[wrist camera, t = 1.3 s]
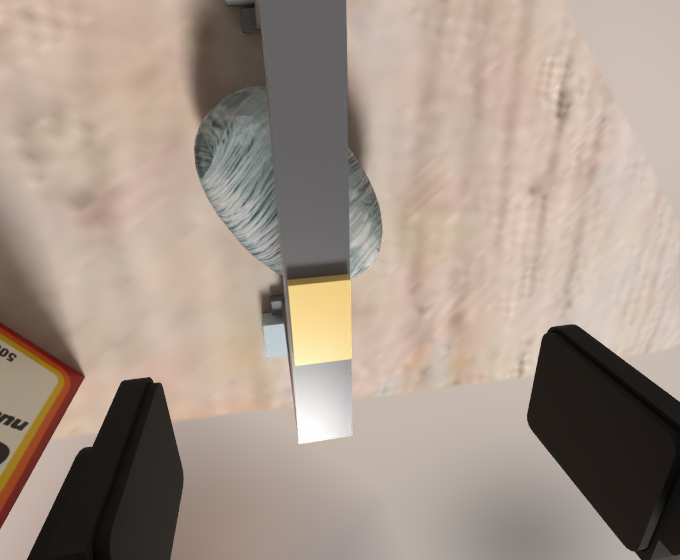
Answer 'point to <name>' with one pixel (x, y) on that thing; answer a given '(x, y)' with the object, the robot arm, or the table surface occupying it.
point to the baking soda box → (28, 409)
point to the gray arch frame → (311, 202)
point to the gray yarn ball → (268, 181)
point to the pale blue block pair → (271, 323)
